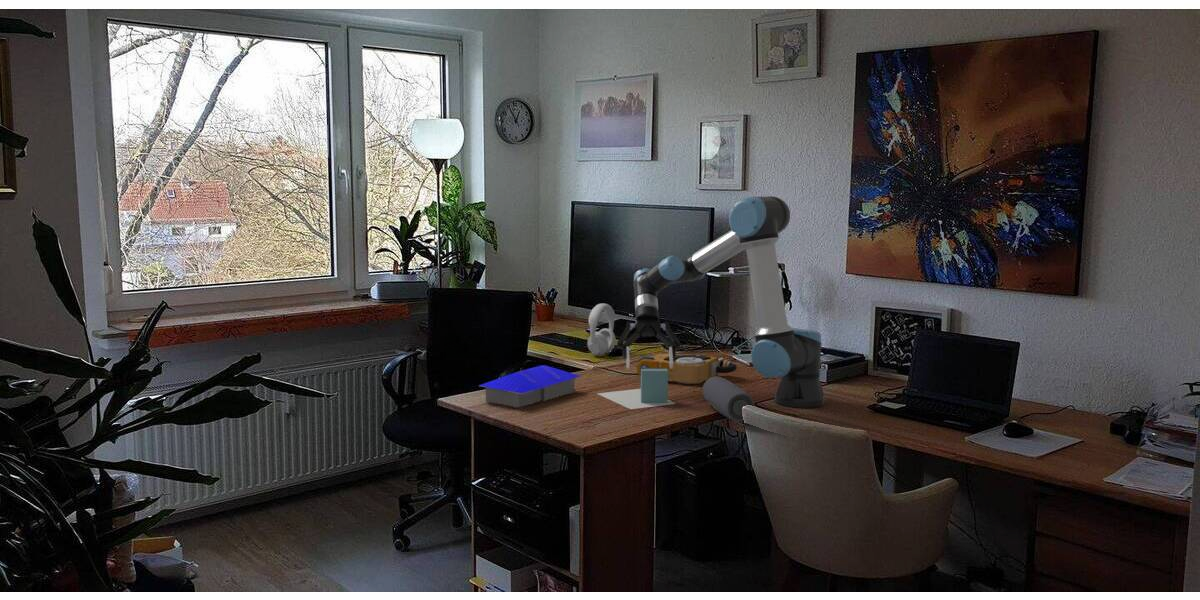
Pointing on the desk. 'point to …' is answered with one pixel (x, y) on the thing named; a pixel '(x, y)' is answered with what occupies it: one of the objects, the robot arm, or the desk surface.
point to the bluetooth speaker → (726, 397)
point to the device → (687, 367)
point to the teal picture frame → (654, 385)
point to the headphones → (601, 331)
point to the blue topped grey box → (530, 386)
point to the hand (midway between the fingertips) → (649, 366)
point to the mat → (630, 399)
